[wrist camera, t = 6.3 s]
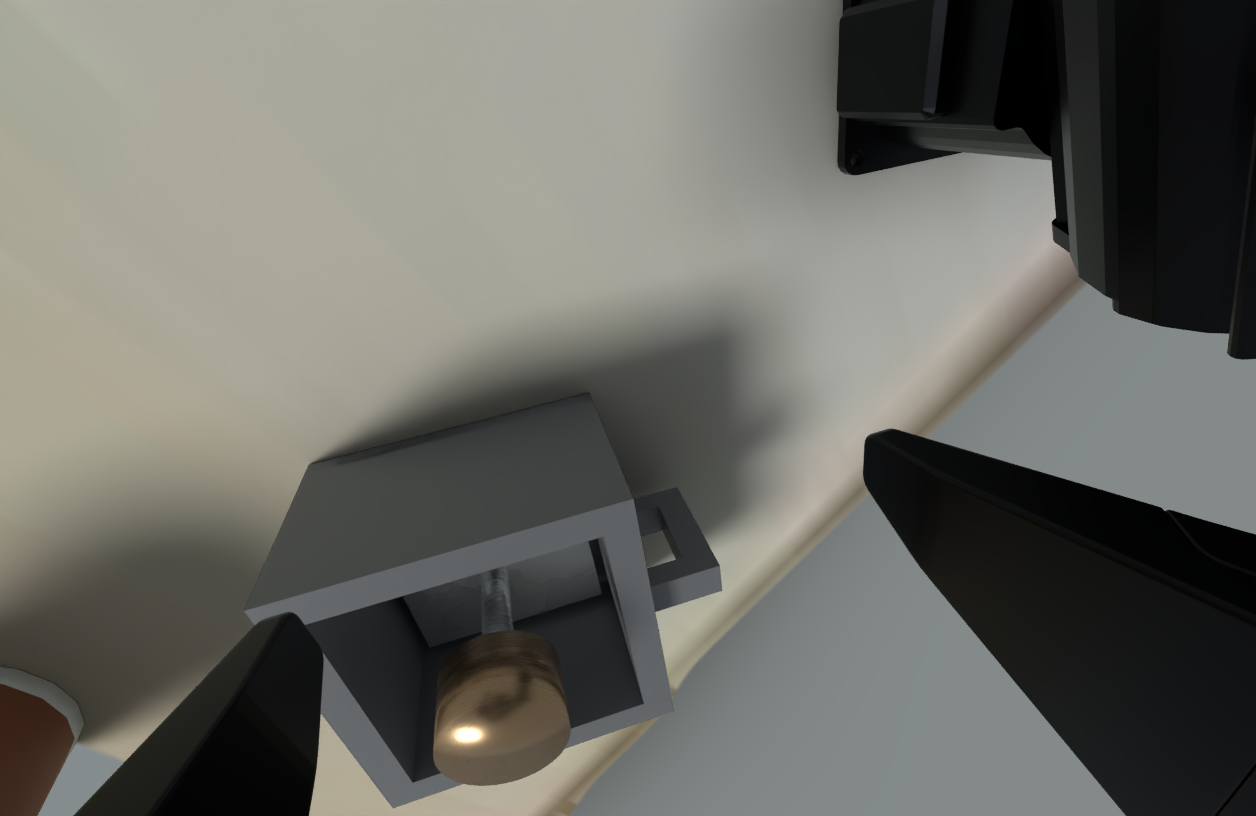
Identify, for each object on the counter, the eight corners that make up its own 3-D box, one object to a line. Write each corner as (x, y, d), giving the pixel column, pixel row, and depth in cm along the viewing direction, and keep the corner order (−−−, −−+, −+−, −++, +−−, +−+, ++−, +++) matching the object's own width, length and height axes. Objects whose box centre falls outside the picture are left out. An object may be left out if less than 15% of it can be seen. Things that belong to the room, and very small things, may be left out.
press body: (653, 376, 21) (719, 473, 15) (680, 563, 26) (738, 688, 20) (309, 465, 19) (243, 610, 14) (410, 647, 24) (392, 808, 19)
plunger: (563, 447, 20) (610, 614, 14) (599, 583, 24) (649, 768, 17) (361, 502, 19) (304, 712, 13) (430, 635, 23) (415, 852, 16)
